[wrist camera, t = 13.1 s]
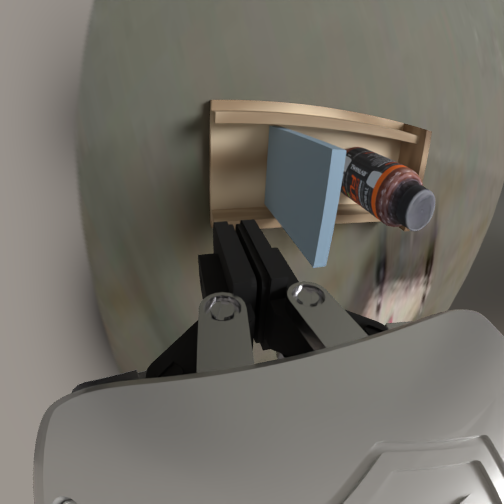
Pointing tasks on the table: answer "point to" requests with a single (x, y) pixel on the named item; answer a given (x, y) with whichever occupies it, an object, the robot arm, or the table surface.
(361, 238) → the table surface
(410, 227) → the supplement bottle
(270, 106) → the lane tray
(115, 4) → the table surface
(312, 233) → the pusher plate
